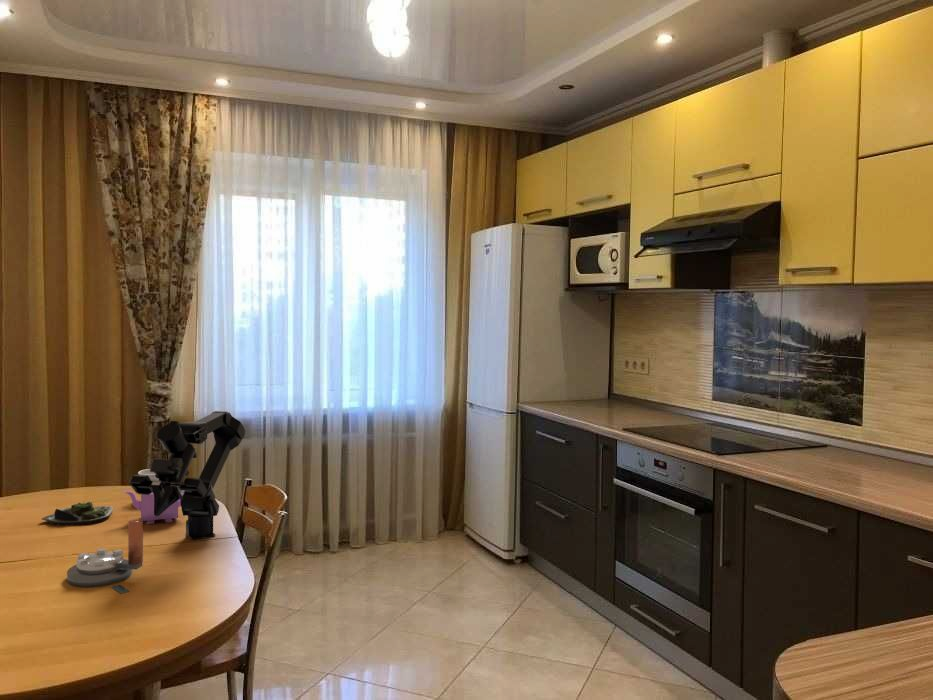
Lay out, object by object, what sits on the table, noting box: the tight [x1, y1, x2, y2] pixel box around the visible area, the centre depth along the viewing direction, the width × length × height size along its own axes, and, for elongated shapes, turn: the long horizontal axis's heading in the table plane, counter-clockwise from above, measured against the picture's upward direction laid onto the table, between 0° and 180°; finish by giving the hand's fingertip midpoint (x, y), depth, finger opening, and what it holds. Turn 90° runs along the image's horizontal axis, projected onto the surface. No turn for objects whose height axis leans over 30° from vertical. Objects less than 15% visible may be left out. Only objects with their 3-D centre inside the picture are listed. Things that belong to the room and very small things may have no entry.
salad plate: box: [41, 501, 114, 526], centre depth 218 cm, size 19×18×5 cm
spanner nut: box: [76, 518, 144, 574], centre depth 171 cm, size 16×10×12 cm, turn 84°
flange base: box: [66, 558, 133, 594], centre depth 169 cm, size 14×21×2 cm, turn 39°
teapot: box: [123, 490, 184, 525], centre depth 217 cm, size 15×13×11 cm
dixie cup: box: [137, 468, 159, 481], centre depth 237 cm, size 8×8×10 cm
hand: (155, 515), depth 179 cm, fingers closed
